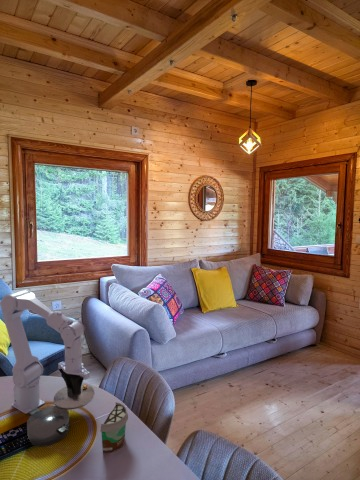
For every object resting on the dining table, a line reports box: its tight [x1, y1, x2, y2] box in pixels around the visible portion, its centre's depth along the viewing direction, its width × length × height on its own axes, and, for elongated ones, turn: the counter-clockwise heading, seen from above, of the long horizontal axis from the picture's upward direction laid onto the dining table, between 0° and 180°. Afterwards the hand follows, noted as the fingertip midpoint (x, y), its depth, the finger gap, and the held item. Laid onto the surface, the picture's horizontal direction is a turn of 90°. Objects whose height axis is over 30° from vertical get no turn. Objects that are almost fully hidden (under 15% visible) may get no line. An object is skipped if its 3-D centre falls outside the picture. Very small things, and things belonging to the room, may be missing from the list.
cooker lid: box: [53, 383, 95, 411], centre depth 115 cm, size 14×14×4 cm
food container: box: [99, 401, 129, 454], centre depth 101 cm, size 12×6×10 cm, turn 168°
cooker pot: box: [26, 405, 71, 447], centre depth 106 cm, size 18×13×5 cm
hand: (73, 391), depth 115 cm, fingers closed on cooker lid, 2 cm apart
